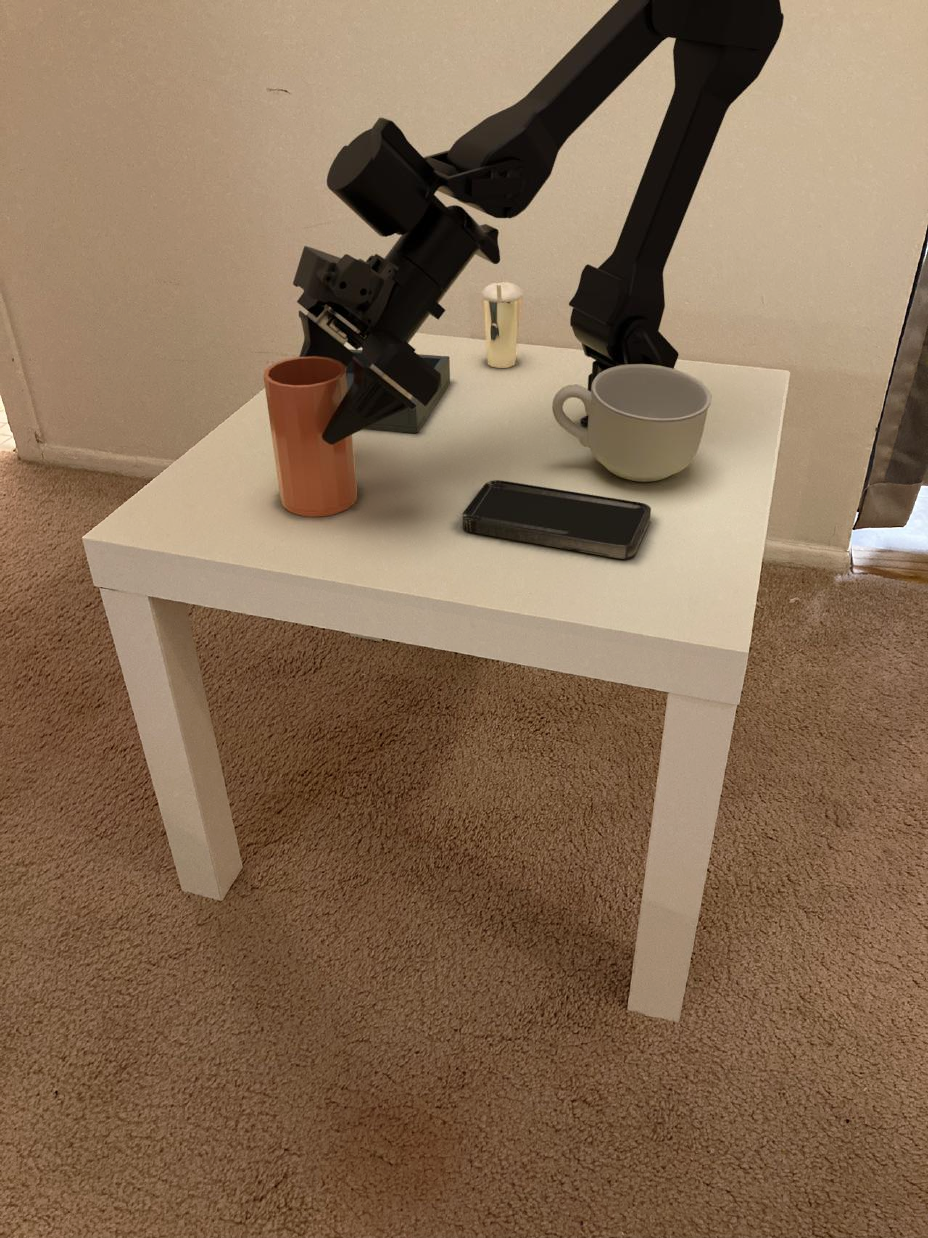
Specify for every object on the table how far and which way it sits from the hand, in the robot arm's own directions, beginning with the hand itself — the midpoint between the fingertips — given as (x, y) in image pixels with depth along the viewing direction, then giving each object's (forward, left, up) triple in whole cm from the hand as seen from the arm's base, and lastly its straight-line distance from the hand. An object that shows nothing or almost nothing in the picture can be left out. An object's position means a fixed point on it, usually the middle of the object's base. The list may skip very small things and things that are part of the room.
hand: (306, 421), depth 85 cm
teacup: (-18, -23, -7) cm, 30 cm away
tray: (+11, -19, -8) cm, 23 cm away
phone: (-20, -10, -8) cm, 23 cm away
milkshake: (+7, -36, -8) cm, 38 cm away
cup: (0, 0, -8) cm, 8 cm away
